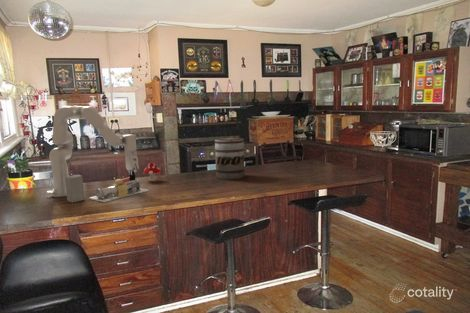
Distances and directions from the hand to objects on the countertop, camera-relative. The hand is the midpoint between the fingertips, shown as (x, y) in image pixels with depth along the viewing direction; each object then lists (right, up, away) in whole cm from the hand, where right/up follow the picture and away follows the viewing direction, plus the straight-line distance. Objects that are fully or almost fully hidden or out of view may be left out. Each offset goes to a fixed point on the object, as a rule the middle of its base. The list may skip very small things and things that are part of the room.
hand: (132, 180), depth 241 cm
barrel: (+65, -1, +43) cm, 78 cm away
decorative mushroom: (+5, -4, +35) cm, 35 cm away
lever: (-4, -1, -1) cm, 5 cm away
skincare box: (-30, -12, -18) cm, 37 cm away
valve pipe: (-7, -9, -6) cm, 13 cm away
